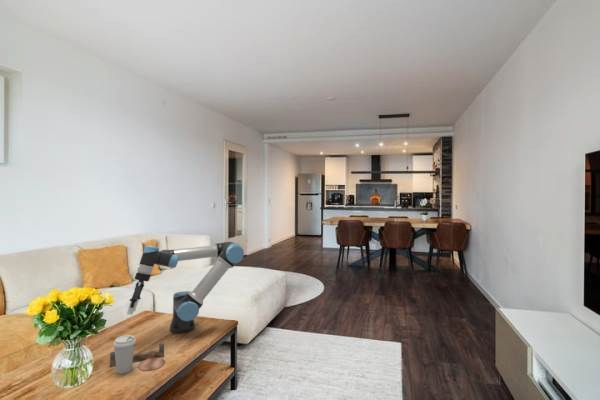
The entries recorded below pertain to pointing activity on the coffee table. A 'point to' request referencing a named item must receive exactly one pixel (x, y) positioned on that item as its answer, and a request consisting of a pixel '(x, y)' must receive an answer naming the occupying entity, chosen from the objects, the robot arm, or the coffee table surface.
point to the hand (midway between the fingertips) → (131, 312)
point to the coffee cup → (124, 353)
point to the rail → (145, 359)
